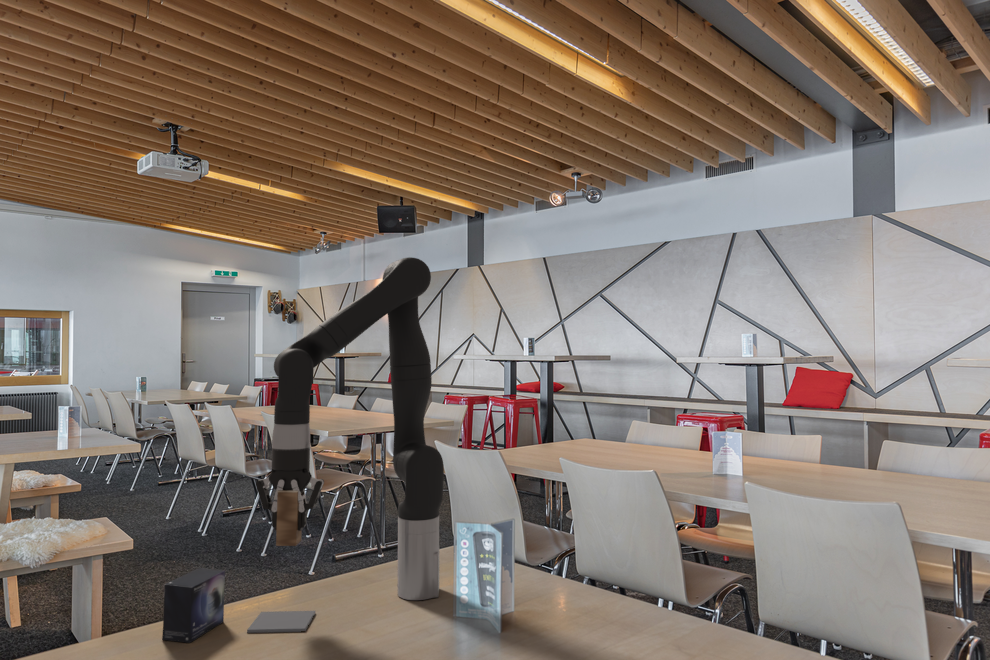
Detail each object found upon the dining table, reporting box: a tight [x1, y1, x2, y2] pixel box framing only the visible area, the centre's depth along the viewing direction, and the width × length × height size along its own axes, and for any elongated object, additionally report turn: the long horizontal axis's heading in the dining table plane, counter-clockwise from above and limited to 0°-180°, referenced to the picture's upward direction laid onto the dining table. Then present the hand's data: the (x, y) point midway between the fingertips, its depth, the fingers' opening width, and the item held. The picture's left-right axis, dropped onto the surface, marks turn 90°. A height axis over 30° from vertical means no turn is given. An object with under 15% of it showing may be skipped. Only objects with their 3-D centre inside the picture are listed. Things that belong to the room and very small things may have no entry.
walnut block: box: [275, 490, 303, 547], centre depth 135 cm, size 4×4×11 cm
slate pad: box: [246, 610, 316, 634], centre depth 131 cm, size 11×9×1 cm
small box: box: [161, 567, 226, 644], centre depth 128 cm, size 11×6×10 cm, turn 168°
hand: (289, 529), depth 135 cm, fingers closed on walnut block, 4 cm apart
